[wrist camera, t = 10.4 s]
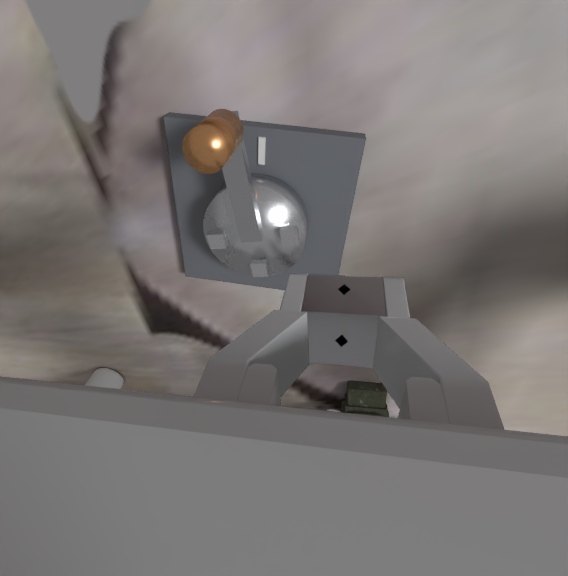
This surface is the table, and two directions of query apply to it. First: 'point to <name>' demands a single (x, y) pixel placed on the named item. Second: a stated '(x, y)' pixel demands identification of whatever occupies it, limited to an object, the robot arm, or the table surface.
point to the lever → (245, 202)
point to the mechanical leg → (365, 399)
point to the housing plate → (285, 166)
